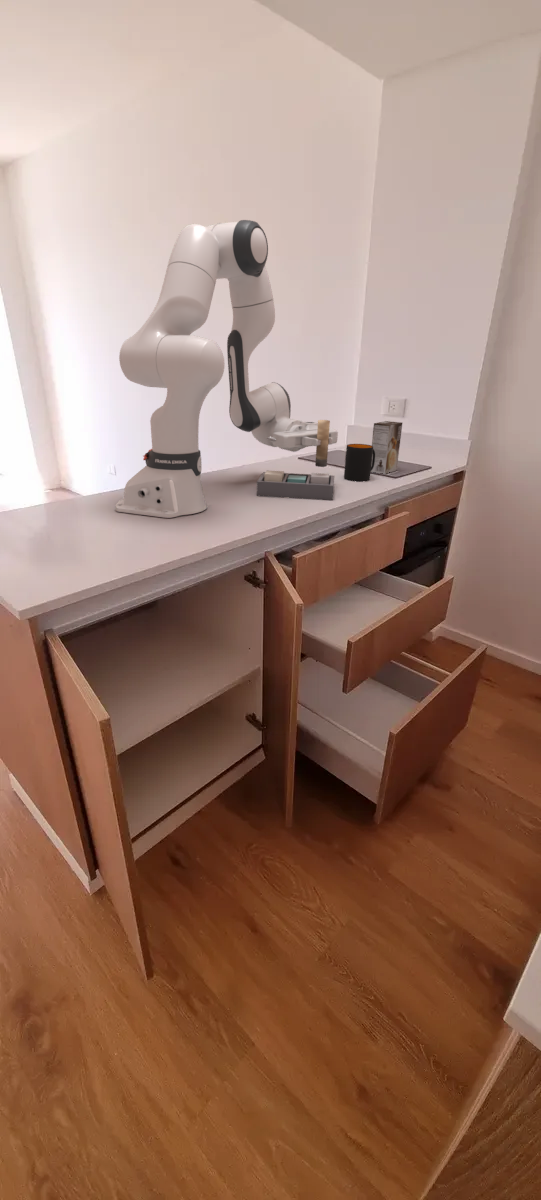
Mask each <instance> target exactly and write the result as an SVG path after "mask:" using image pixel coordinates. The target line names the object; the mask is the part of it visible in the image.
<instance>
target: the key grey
mask: <svg viewBox="0 0 541 1200" xmlns="http://www.w3.org/2000/svg"><path fill="white" fill-rule="evenodd" d="M310 474H311V483H310V484H327V485H329V475H330V473H325V472H324V473H323V472H311V473H310Z"/></svg>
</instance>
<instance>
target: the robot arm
mask: <svg viewBox="0 0 541 1200" xmlns="http://www.w3.org/2000/svg"><path fill="white" fill-rule="evenodd" d="M268 244H269V243H268V238H267V236H266V233H265V231H264V230H263V228H262V226H260V224H259V223H258V222H256V221H255V220H250V219H249V220H248V219H241V220H239V221H229V222H217V223H214V224H212V225H211V224H210V225H207V226H204V225H202V224H199V223H192V224H188V225H186V226H184V227H183V228H182V229H181V230H180V232H179V234H178V236H177V238H176V240H175V243H174V245H173V248H172V250H171V253H170V256H169V259H168V262H167V267H166V270H165V275H164V278H163V282H162V283H163V284H162V286H161V290H160V293H159V297H158V300H157V302H156V305H155V307H154V308H153V310H152V312H151V314H150V315H149V317H148V318H147V319H146V321H145V322H144V323H143V325H142V326H141V327H140V328H139V330H137V331H136V332H135V333H134V334H133V335H132V336H130V337H129V338H127V339H125V340H124V342H123V343H122V345H121V347H120V350H119V356H118V357H119V358H118V359H119V366H120V370H121V371H122V373H123V375H124V377H126V379H127V380H129V381H130V382H133V383H135V384H137V385H140V386H144V387H147V388H157V389H158V388H160V389H161V388H162V389H167V391H166V396H165V397H166V398H165V400H164V403H163V404H162V405H161V406H160V407H158V408H157V409H155V410H154V411H153V412H152V414H151V415H150V416H151V417H150V420H149V422H150V434H151V436H150V437H151V448H150V449H149V450H148V451H147V452H146V453H145V454H144V455H142V457H143V461H145V466H144V467H142V469H140V470H139V471H138V472H137V473H136V474H134V475H133V476H132V477H131V478H130V479H129V480H128V481H127V482H126V483H125V487H124V492H123V498H122V499H120V500H119V501H117V502H116V503H115V507H114V508H115V511H116V512H119V513H125V514H126V513H127V514H132V515H133V514H135V515H142V516H151V517H156V518H157V517H159V518H164V519H165V518H168V519H169V518H175V517H180V516H187V515H192V514H197V513H200V512H201V513H202V512H203V511H205V510H206V509H208V504H207V502H206V499H205V494H204V491H203V486H202V478H201V474H202V455H201V453H202V452H201V450H200V449H199V443H200V442H199V427H200V426H199V425H200V424H199V421H200V414H201V409H202V406H203V404H204V401H205V399H206V398H207V396H208V394H209V393H210V392H211V390H213V388H215V387H216V386H217V385H219V383H220V381H221V379H222V378H223V376H224V371H225V357H224V354H223V351H222V349H221V347H220V346H219V345H218V343H217V342H216V341H215V340H213V339H210V338H206V337H204V336H203V337H202V336H198V335H194V334H193V333H194V332H196V331H197V330H199V329H200V328H201V327H203V325H204V324H205V323H206V321H207V320H208V317H209V314H210V309H211V305H212V301H213V296H214V292H215V288H216V283H217V279H218V280H219V279H220V280H223V279H225V280H227V281H228V288H229V296H230V302H231V308H232V309H231V310H232V326H231V331H230V333H229V334H228V336H227V341H226V342H227V343H226V352H227V365H228V366H227V369H228V381H229V384H228V385H229V407H228V408H229V418H230V420H231V422H232V424H233V425H234V427H236V428H237V429H238V430H241V431H243V432H246V433H250V432H251V434H252V436H253V437H254V438H255V440H256V441H258V442H259V443H260V444H263V445H264V446H268V447H272V448H279V449H281V450H285V451H288V452H293V453H295V452H298V451H300V450H302V449H305V448H307V447H316V446H320V444H321V443H320V442H321V440H320V439H317V429H318V422H313V421H303V420H299V419H294V418H291V411H292V410H291V400H290V399H291V398H290V394H289V393H288V392H287V390H286V389H285V388H284V387H283V386H282V385H281V384H279V383H278V382H275V381H273V382H270V383H268V384H265V385H262V386H259V387H258V388H256V389H253V390H251V391H250V383H249V381H250V380H249V361H250V357H251V355H252V353H253V352H254V351H255V349H256V348H257V347H258V346H259V345H260V344H261V343H262V342H263V341H264V340H265V339H266V338H267V337H268V336H269V334H270V333H271V331H272V329H273V327H274V325H275V322H276V309H275V303H274V302H275V301H274V298H273V291H272V285H271V282H270V276H269V273H268V271H267V266H266V263H267V260H268V256H269V255H268V254H269V246H268ZM338 434H339V432H338V429H334V428H333V427H329V441H328V446H329V445H333V444H337V442H338V436H339V435H338Z"/></svg>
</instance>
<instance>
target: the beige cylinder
mask: <svg viewBox="0 0 541 1200" xmlns="http://www.w3.org/2000/svg"><path fill="white" fill-rule="evenodd" d="M317 423H318V429H317V439H320V440H321V442H320V443H321V444H320V446H315V447H316V452H315V467H318V468H326V467H327V466H328V453H329V445H328V441H329V428H331V427H330V425H331V421H330V420H327V419H318V420H317Z"/></svg>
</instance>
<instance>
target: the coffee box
mask: <svg viewBox="0 0 541 1200" xmlns="http://www.w3.org/2000/svg"><path fill="white" fill-rule="evenodd" d="M402 428H403V422H400V421H391V420H388V421H387V420H385V421H380V422H375V423H373V429H372V441H371V446H373V449H374V451H375V463H374V467H373V469H372V470H371V473H373V472H376V473H375V474H380V473H383V474H382V475H387V474H386V473H388V474H390V473H394V472H396V471H397V470H398V462H399V455H400V445H401V438H402ZM372 460H373V454H372ZM371 466H372V464H371ZM389 472H390V473H389Z"/></svg>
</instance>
